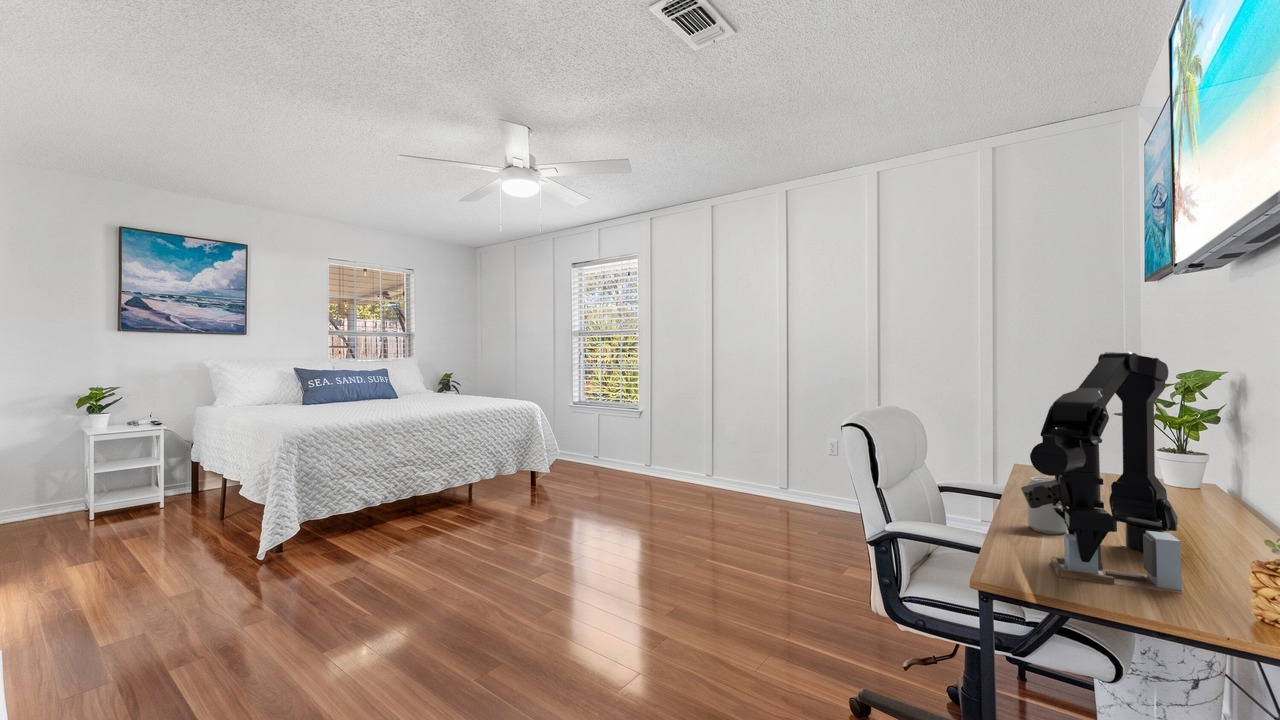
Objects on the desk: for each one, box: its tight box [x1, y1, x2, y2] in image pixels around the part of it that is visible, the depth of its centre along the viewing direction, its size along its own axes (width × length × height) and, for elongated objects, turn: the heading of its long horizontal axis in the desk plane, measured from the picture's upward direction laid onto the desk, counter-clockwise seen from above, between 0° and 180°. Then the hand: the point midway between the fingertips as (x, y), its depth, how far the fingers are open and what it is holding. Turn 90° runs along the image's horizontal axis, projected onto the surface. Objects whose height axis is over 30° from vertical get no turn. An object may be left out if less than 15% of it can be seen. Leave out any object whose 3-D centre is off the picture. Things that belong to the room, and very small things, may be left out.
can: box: [1026, 476, 1068, 535], centre depth 126 cm, size 8×8×12 cm
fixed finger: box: [1142, 531, 1183, 591], centre depth 92 cm, size 5×4×8 cm
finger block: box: [1063, 533, 1102, 575], centre depth 97 cm, size 4×4×6 cm
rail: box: [1049, 556, 1182, 594], centre depth 95 cm, size 8×16×2 cm, turn 61°
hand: (1081, 556), depth 97 cm, fingers open, 5 cm apart
